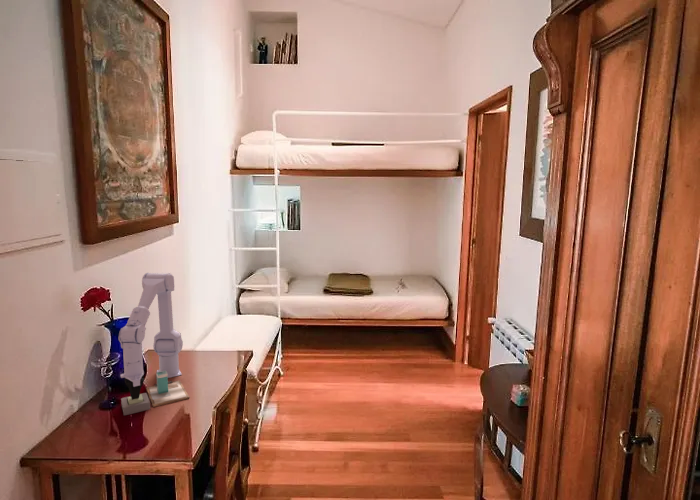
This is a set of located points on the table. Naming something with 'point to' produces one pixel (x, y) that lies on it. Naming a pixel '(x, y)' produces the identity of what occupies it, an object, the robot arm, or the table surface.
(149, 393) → the clipboard
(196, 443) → the table surface
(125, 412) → the button housing
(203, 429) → the table surface
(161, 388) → the teal rimmed box
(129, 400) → the button
